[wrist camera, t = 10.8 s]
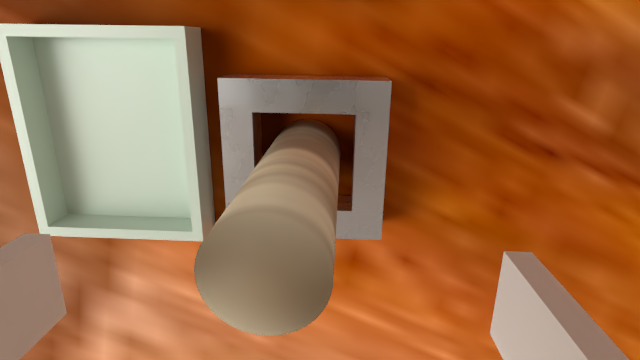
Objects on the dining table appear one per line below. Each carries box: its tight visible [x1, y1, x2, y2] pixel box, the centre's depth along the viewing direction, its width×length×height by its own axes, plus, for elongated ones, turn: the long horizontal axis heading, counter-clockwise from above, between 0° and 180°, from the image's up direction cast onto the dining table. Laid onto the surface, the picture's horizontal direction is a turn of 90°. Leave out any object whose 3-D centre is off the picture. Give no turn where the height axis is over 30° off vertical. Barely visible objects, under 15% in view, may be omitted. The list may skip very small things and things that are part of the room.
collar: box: [217, 74, 392, 240], centre depth 24 cm, size 9×9×2 cm
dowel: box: [194, 119, 340, 336], centre depth 18 cm, size 4×4×14 cm
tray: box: [0, 24, 215, 241], centre depth 24 cm, size 12×10×2 cm
